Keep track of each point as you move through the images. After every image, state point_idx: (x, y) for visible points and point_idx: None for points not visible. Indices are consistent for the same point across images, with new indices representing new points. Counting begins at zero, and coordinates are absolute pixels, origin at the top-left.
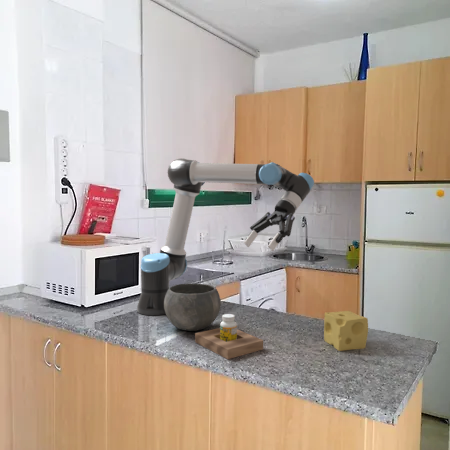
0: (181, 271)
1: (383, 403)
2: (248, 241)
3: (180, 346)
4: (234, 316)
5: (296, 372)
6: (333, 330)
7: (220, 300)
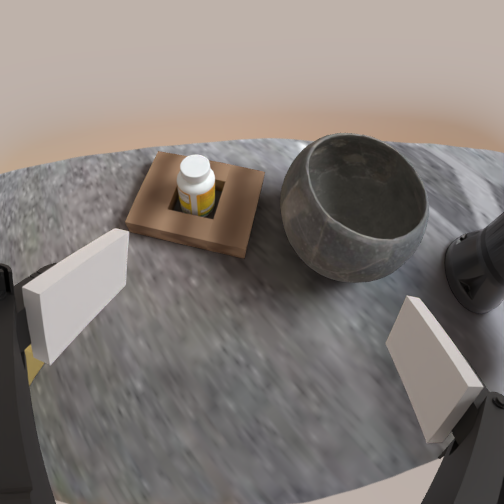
0: None
1: None
2: (408, 330)
3: (266, 157)
4: (181, 171)
5: (51, 191)
6: None
7: (311, 251)
